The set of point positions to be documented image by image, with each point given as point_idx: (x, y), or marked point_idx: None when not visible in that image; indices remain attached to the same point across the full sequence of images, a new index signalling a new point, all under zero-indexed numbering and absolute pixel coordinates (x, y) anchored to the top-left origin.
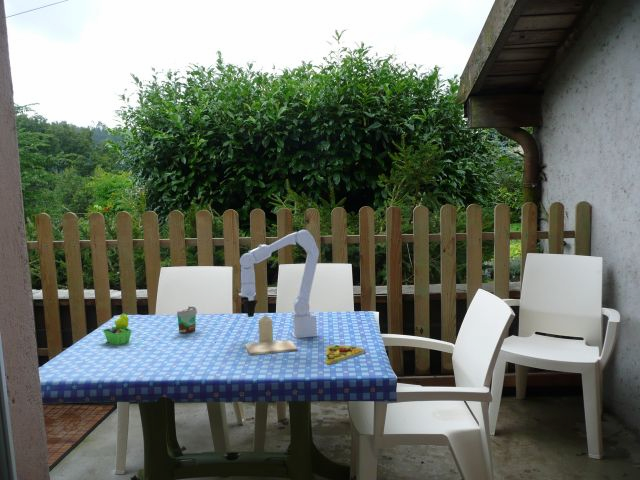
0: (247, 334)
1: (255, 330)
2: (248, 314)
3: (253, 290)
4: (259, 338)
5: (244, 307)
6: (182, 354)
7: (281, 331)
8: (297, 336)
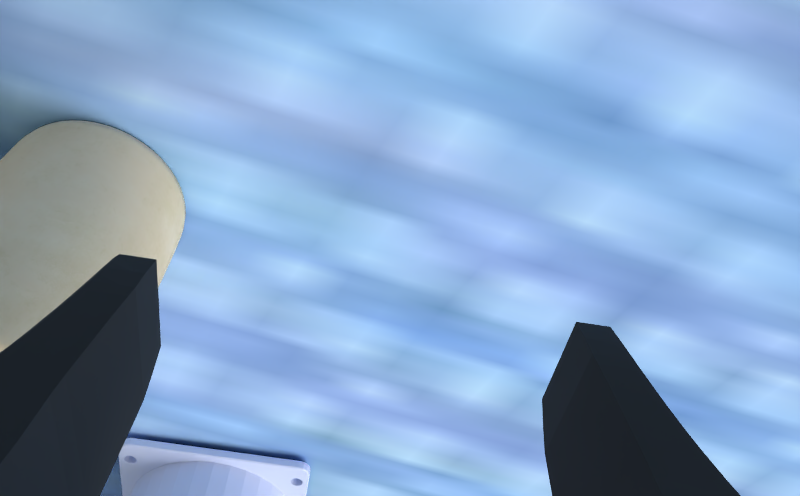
0: (599, 115)
1: (730, 264)
2: (79, 298)
3: None
4: (60, 143)
5: (629, 429)
6: None
7: (475, 435)
8: (136, 462)
